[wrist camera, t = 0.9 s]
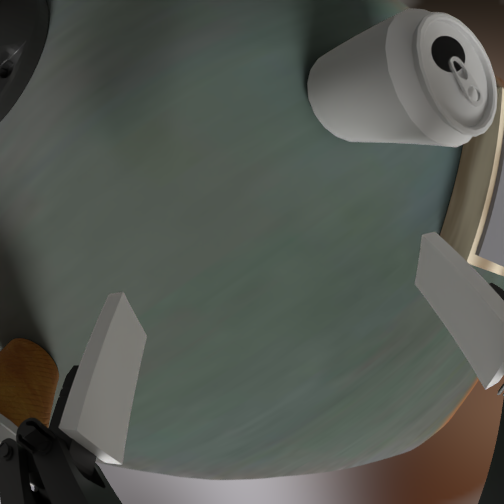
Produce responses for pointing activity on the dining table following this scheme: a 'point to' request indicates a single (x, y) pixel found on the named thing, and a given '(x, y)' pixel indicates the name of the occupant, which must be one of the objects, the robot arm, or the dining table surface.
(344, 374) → the dining table surface
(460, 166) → the dock
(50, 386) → the disposable coffee cup
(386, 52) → the can
